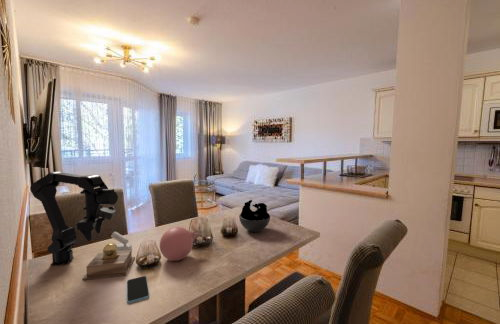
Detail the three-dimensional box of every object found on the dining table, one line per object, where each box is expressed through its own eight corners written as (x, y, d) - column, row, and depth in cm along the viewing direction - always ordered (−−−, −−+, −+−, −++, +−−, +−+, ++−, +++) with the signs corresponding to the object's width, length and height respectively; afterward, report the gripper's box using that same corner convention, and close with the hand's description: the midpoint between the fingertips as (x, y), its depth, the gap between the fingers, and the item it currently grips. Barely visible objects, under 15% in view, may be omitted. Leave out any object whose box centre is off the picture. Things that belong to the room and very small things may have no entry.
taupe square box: (125, 275, 96) (125, 264, 96) (82, 280, 93) (81, 268, 92) (134, 258, 111) (134, 248, 110) (97, 261, 107) (97, 251, 107)
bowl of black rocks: (271, 237, 138) (271, 207, 136) (238, 236, 138) (238, 206, 137) (268, 225, 158) (269, 198, 156) (239, 224, 158) (240, 198, 157)
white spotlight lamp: (118, 228, 123) (134, 230, 121) (119, 245, 124) (135, 247, 122) (105, 234, 115) (122, 236, 113) (106, 253, 116) (123, 255, 114)
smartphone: (146, 275, 96) (149, 295, 83) (146, 277, 96) (149, 298, 83) (126, 280, 93) (126, 302, 79) (126, 282, 93) (127, 305, 80)
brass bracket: (116, 267, 101) (115, 244, 100) (103, 268, 100) (102, 245, 99) (117, 264, 103) (117, 242, 102) (105, 266, 102) (104, 243, 101)
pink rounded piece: (206, 257, 112) (206, 227, 111) (165, 270, 100) (164, 237, 99) (194, 246, 125) (194, 218, 123) (156, 256, 113) (155, 226, 112)
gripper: (105, 208, 95) (106, 244, 96) (119, 197, 113) (120, 228, 115) (74, 209, 93) (76, 246, 94) (94, 198, 111) (95, 229, 112)
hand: (94, 237), depth 104 cm, fingers open, 9 cm apart
